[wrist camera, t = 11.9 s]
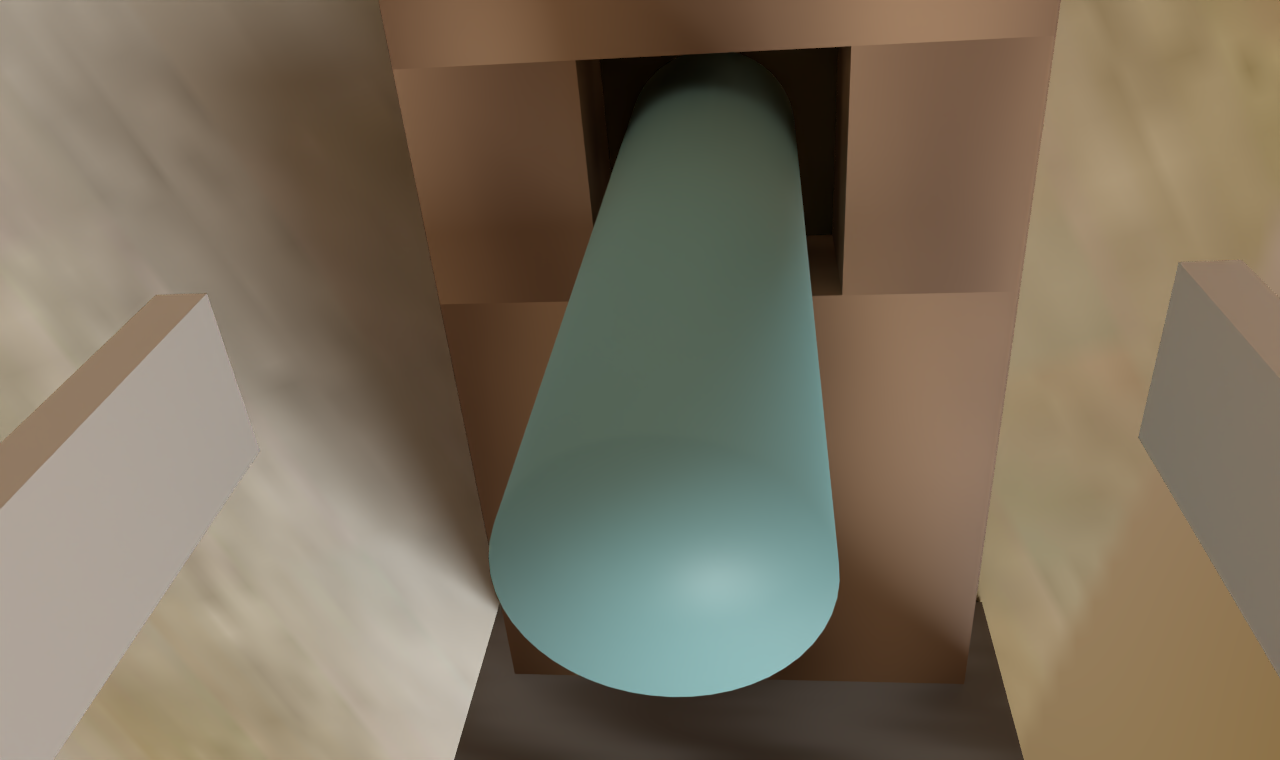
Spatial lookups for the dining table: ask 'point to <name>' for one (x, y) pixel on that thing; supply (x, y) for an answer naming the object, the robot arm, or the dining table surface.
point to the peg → (681, 411)
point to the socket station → (844, 323)
